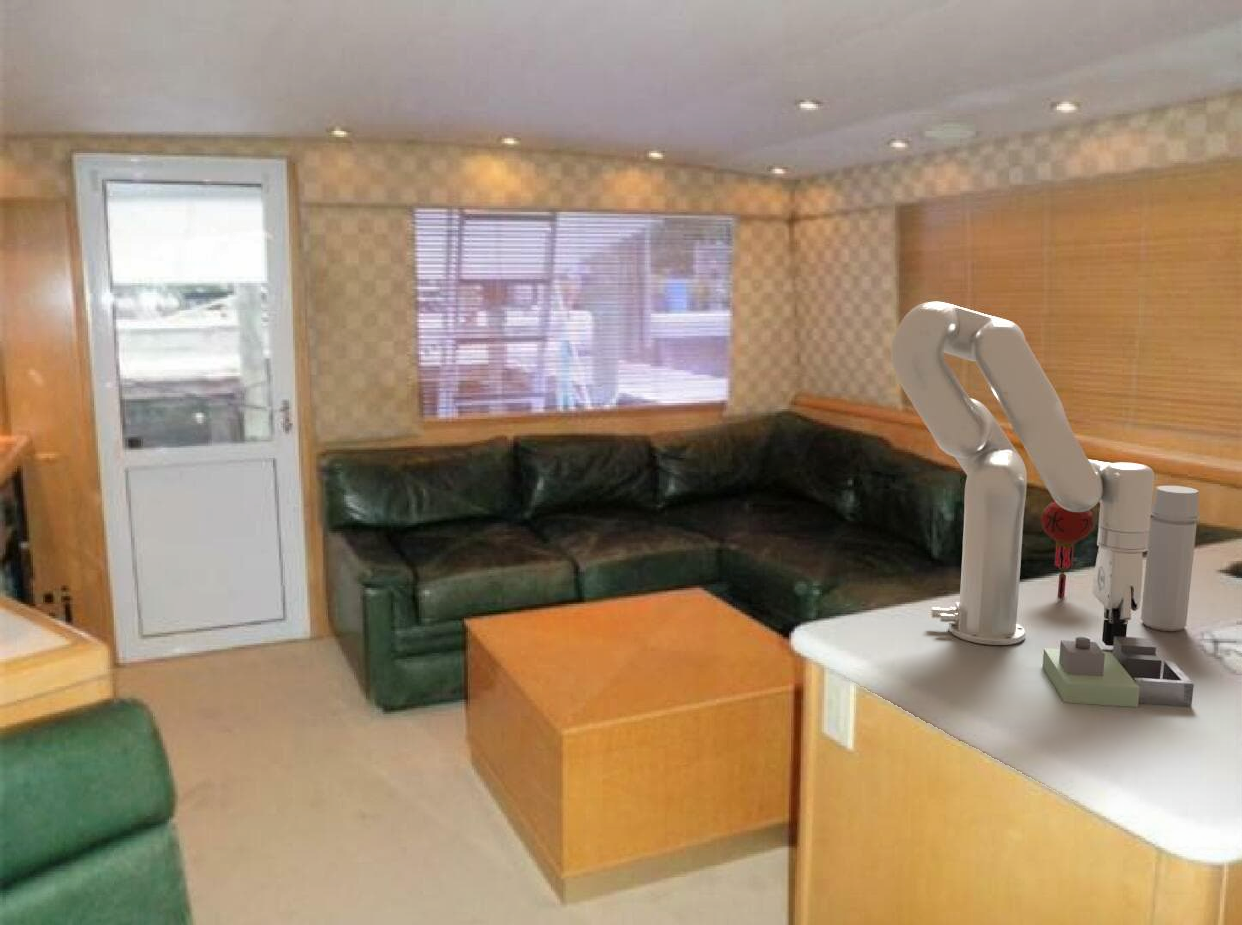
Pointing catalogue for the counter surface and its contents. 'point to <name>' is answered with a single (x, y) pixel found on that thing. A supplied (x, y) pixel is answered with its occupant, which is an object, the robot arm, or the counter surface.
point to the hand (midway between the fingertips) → (1113, 643)
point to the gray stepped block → (1137, 657)
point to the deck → (1089, 675)
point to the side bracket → (1166, 688)
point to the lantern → (1065, 535)
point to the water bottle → (1170, 557)
